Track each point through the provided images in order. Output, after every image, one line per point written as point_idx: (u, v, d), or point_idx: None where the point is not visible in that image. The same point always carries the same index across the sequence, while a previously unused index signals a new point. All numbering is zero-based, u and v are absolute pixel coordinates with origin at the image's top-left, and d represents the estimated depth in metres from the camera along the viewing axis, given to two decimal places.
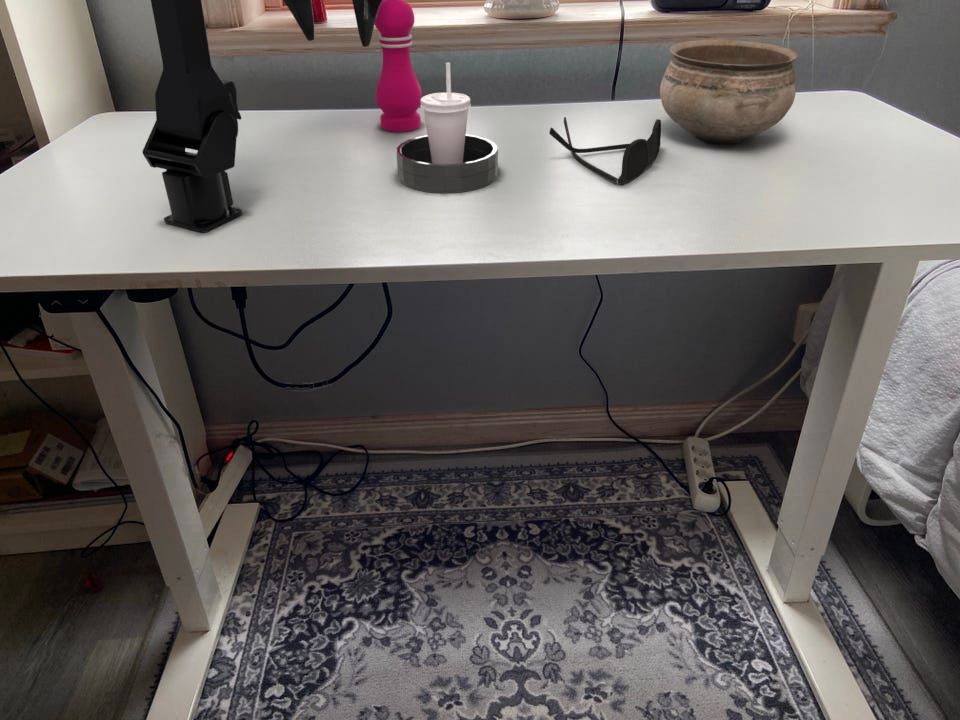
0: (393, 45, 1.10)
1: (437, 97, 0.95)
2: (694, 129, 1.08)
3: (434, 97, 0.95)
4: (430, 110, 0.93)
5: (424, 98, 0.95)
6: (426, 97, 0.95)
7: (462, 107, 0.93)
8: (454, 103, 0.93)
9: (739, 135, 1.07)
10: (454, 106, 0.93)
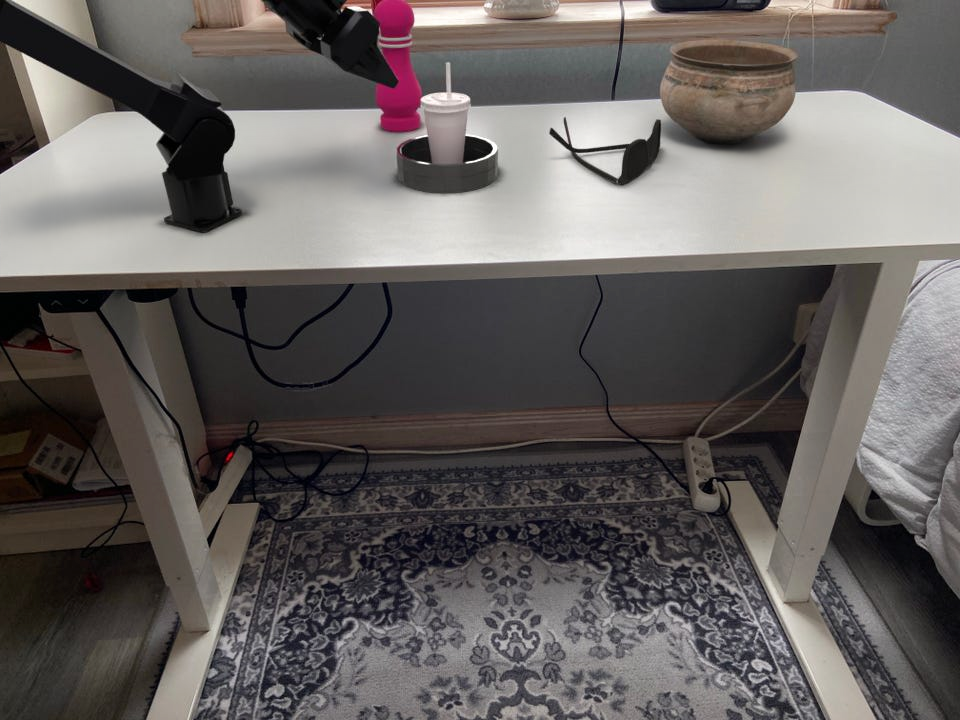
0: (393, 45, 1.10)
1: (437, 97, 0.95)
2: (694, 129, 1.08)
3: (434, 97, 0.95)
4: (430, 110, 0.93)
5: (424, 98, 0.95)
6: (426, 97, 0.95)
7: (462, 107, 0.93)
8: (454, 103, 0.93)
9: (739, 135, 1.07)
10: (454, 106, 0.93)
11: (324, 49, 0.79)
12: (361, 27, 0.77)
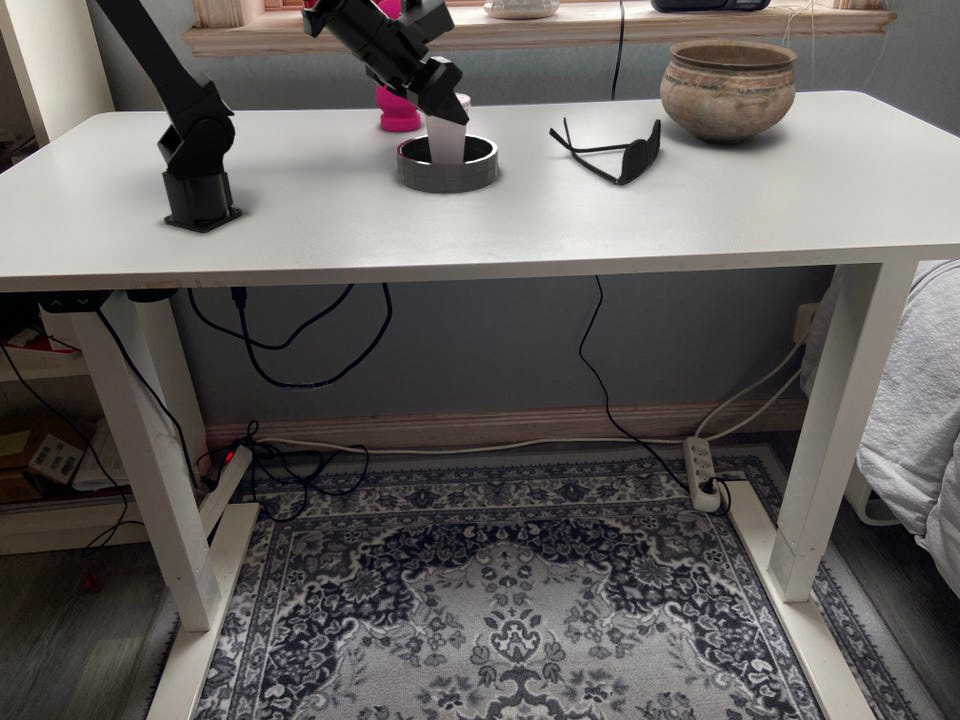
0: None
1: None
2: (694, 129, 1.08)
3: None
4: None
5: None
6: None
7: None
8: None
9: (739, 135, 1.07)
10: None
11: (411, 97, 0.86)
12: (446, 77, 0.84)
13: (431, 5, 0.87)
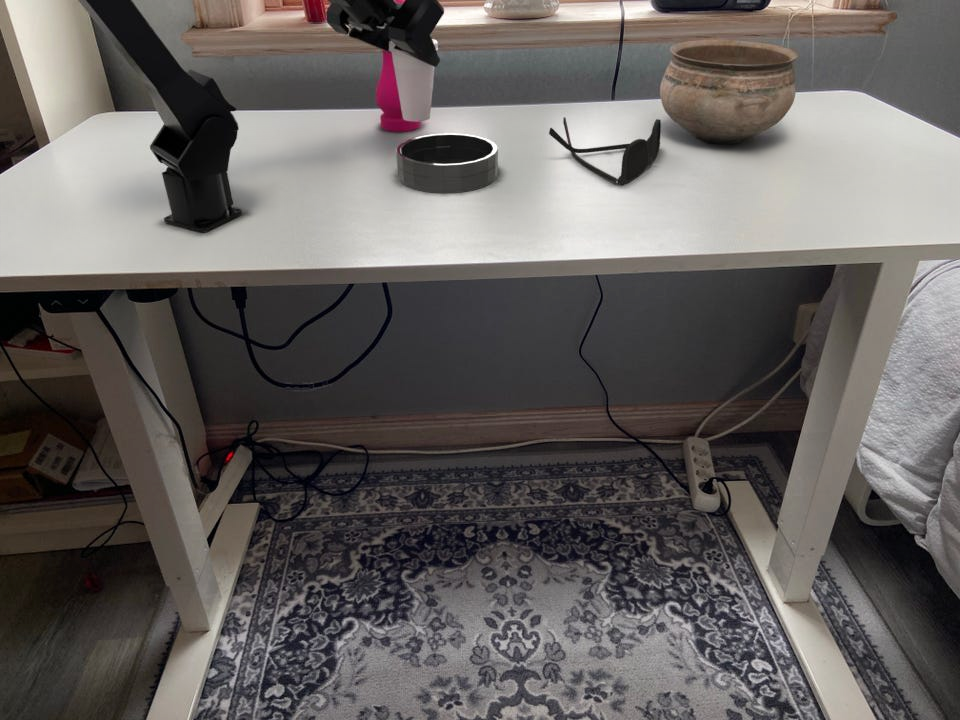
0: None
1: None
2: (694, 129, 1.08)
3: None
4: None
5: (392, 42, 0.96)
6: None
7: None
8: None
9: (739, 135, 1.07)
10: None
11: (394, 34, 0.87)
12: (430, 12, 0.86)
13: None
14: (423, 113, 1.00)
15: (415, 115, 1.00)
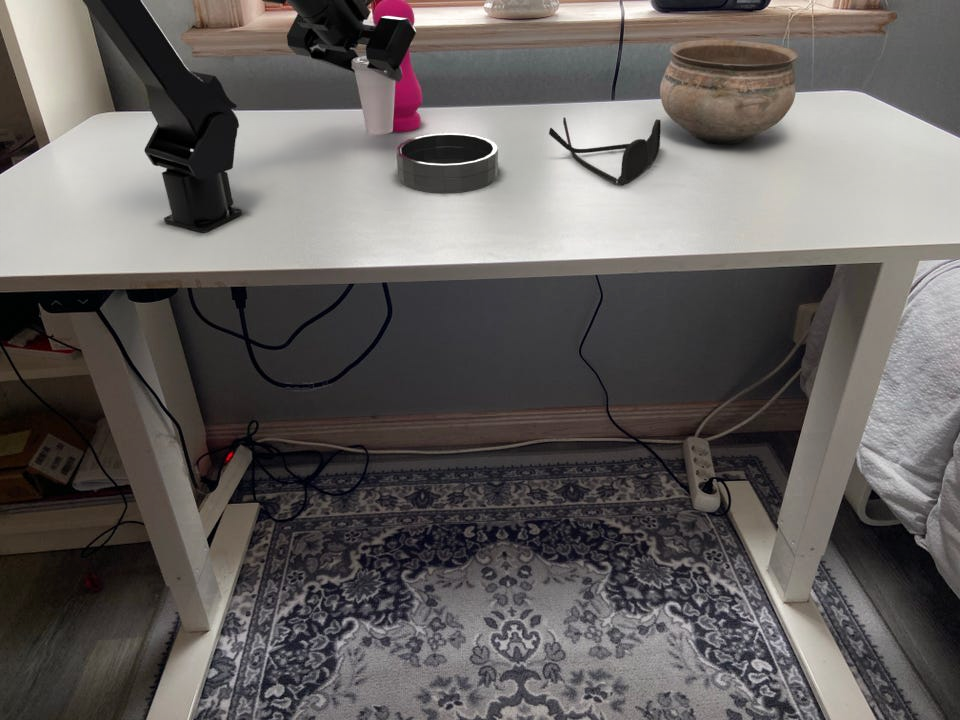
0: None
1: None
2: (694, 129, 1.08)
3: (364, 59, 1.02)
4: (369, 70, 1.00)
5: (355, 61, 1.02)
6: (355, 60, 1.02)
7: None
8: None
9: (739, 135, 1.07)
10: None
11: (373, 54, 0.93)
12: (406, 32, 0.93)
13: None
14: (388, 126, 1.06)
15: (381, 128, 1.06)
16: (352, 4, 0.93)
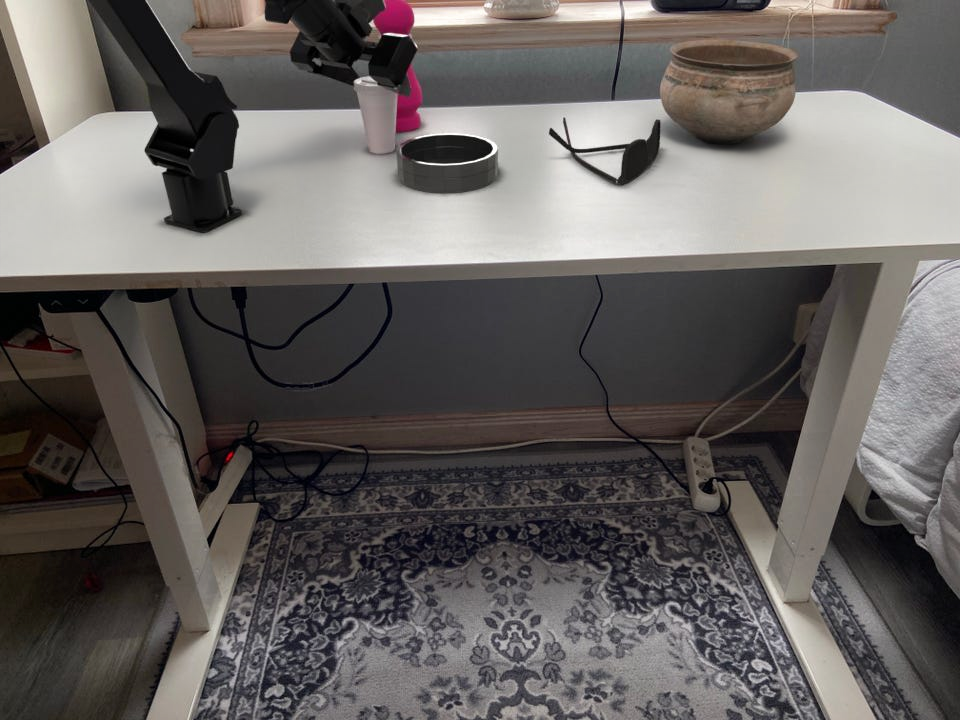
0: None
1: (369, 80, 1.04)
2: (694, 129, 1.08)
3: (366, 81, 1.04)
4: (371, 92, 1.02)
5: (357, 83, 1.03)
6: (357, 82, 1.04)
7: None
8: None
9: (739, 135, 1.07)
10: None
11: (375, 71, 0.94)
12: (407, 49, 0.94)
13: None
14: (390, 145, 1.08)
15: (383, 148, 1.07)
16: (354, 21, 0.95)
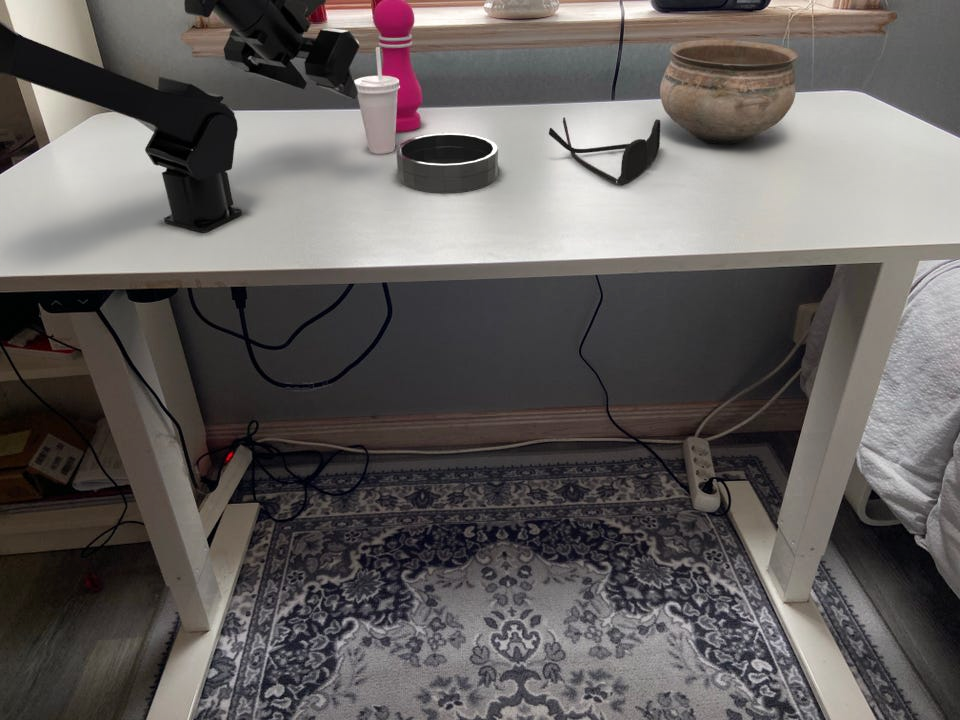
0: (393, 45, 1.10)
1: (369, 80, 1.04)
2: (694, 129, 1.08)
3: (366, 81, 1.04)
4: (371, 92, 1.02)
5: (357, 83, 1.03)
6: (357, 82, 1.04)
7: (396, 86, 1.04)
8: (390, 83, 1.03)
9: (739, 135, 1.07)
10: (392, 85, 1.03)
11: (312, 70, 0.86)
12: (347, 46, 0.85)
13: None
14: (390, 145, 1.08)
15: (383, 148, 1.07)
16: (289, 15, 0.86)
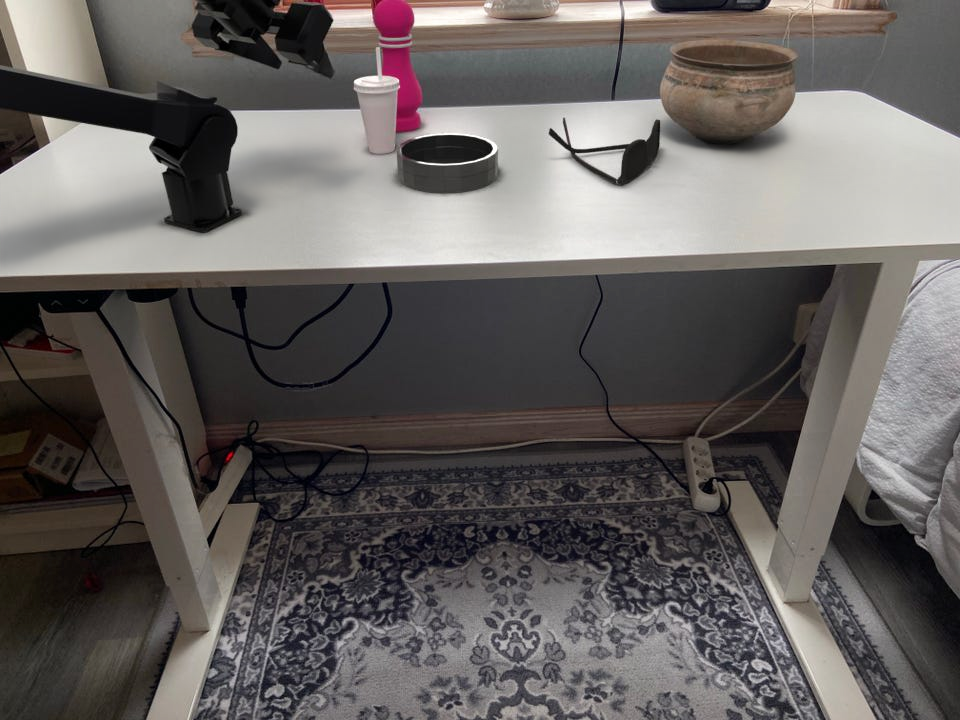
0: (393, 45, 1.10)
1: (369, 80, 1.04)
2: (694, 129, 1.08)
3: (366, 81, 1.04)
4: (371, 92, 1.02)
5: (357, 83, 1.03)
6: (357, 82, 1.04)
7: (396, 86, 1.04)
8: (390, 83, 1.03)
9: (739, 135, 1.07)
10: (392, 85, 1.03)
11: (283, 45, 0.81)
12: (320, 20, 0.80)
13: None
14: (390, 145, 1.08)
15: (383, 148, 1.07)
16: None
